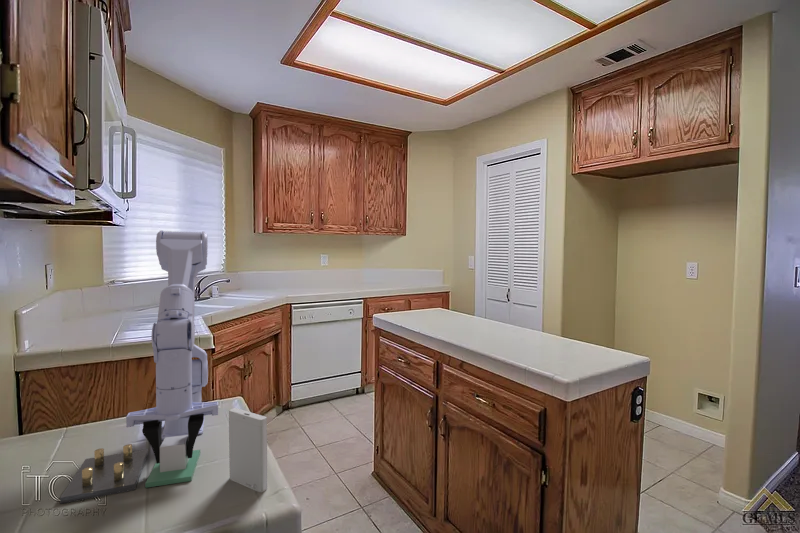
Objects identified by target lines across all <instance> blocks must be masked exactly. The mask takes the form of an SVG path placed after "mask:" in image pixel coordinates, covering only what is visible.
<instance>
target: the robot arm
mask: <svg viewBox="0 0 800 533" xmlns="http://www.w3.org/2000/svg"><path fill="white" fill-rule="evenodd" d="M208 246H209V244H208V233H207V232H206V231H168V230H167V231H166V230H159V231H158V232H157V233H156V239H155V250H156V251H155V252H156V256H157V258H158V263H159V265H160V266H161V270H162V271H166V272H167V282H168V283H167V285H168V286H166V287H164V288H163V289H162V290H161V291H160V294H159V295H160V296H159V304H158V310H157V312H158V314H157V320H156V321H157V322H154V323H153V324H152V327H151V328H152V329H151V336H150V337H151V346H152V350H153V351H152V352H153V362H154V363H155V387H156V388H155V405H156V406H155V407H151V408H146V409H141V410H137V411H131V412H128V413H127V415H126V416H125V417H126V418H125V419H126V423H125V424H126V428H132V427H135V425H143V426H142V429H141V431H142V434H143V436H144V437H145V439H146V440H147V442H148V444H149V445H150V447H151V449H152V451H153V455H154V458H155V464H158V463H160V446H161V444H162V442H163V440H164V439H165V437H174V436H182V435H188V458H192V454H193V450H194V446H195V444H196V440H197V438H198V435H201V434H203V433H204V426H205V418H206V417H205V416H210V415H211V416H218V415H219V401H207V402H206V401H202V388H203V387H206V386H207V385H208V381H209V379H208V378H209V364H208V353H207V352H206V350H204V349H203V348H201V347H200V346H198V345H196V344H195V341H196V340H195V338H196V335H195V333H196V330H195V329H196V328H195V325H196V324H195V306H196V305H195V298H196V297H195V296H196V295H195V293H196V291H195V288H196V287H195V286H196V279H197V276H198V274H199V273H200V272H203V271H205V270H206V269H207V265H208V251H209V250H208ZM192 358H194V359H192ZM195 358H197V359H195ZM163 422H164V427H163ZM162 427H163V428H162Z"/></svg>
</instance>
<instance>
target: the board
mask: <svg viewBox="0 0 800 533" xmlns="http://www.w3.org/2000/svg"><path fill="white" fill-rule="evenodd" d="M200 456H201V449H193V454H192V458H188V435H182V436H174V437H165V439H164V440H162V444H161V446H160V463H158V464H156V463H155V464H154V466H153V468H152V469H151V471H150V473H149V475H148V477H147V480H146V481H145V488H146V489H147V488H151V487H152V488H153V487H158V486H165V485H173V484H179V483H186V482H187V483H188V482H192V480H193V477H194V474H195V472H196V468H197V465H198V462H199V459H200Z"/></svg>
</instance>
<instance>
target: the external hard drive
mask: <svg viewBox="0 0 800 533" xmlns="http://www.w3.org/2000/svg"><path fill="white" fill-rule="evenodd" d="M228 416H229V417H228V433H229V434H228V436H229V437H228V440H229V441H228V442H229V446H228V447H229V451H228V452H229V453H228V454H229V455H228V456H229V480H230V481H232V482H235V483H237V484H240V485H241V486H244V487H247V488H248V489H250V490H253V491H255V492H257V493H263V492H265V491H267V490H268V417H267V416H265V415H261V414H257V413H254V412H251V411H247V410H244V409H241V408H238V407H234V408H231V409H229V410H228Z"/></svg>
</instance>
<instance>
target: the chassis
mask: <svg viewBox="0 0 800 533" xmlns="http://www.w3.org/2000/svg"><path fill="white" fill-rule="evenodd" d="M93 452H94V455H93V456H94V457H90V458H84V461H83V462H82V464H81V465H80V467H79V468H78V470H77V472H76V473H75V475H74V476H73V478H72V479H71V481H69V483H68V485H67V487H66V488H65V490H64V491H63V493H62V494H61V495H60V497H59V504H60V505H62V504H67V503H72V502H73V503H74V502H77V501H83V500H88V499H89V500H90V499H93V498H99V497H103V496H109V495H110V496H111V495H115V494H121V493H124V492H125V493H127V492H130V491H136V487H137V484H138V483H139V480H140V477H141V474H142V471H143V469H144V466H145V463H146V462H147V458H148V455H149V448H147V449H141V450H134V451H133V444H131V443H128V444H125V445H123V446H122V452H121V453H114V454H109V455H108V454H107V455H105V448H97V449H95V450H94V451H93Z"/></svg>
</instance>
